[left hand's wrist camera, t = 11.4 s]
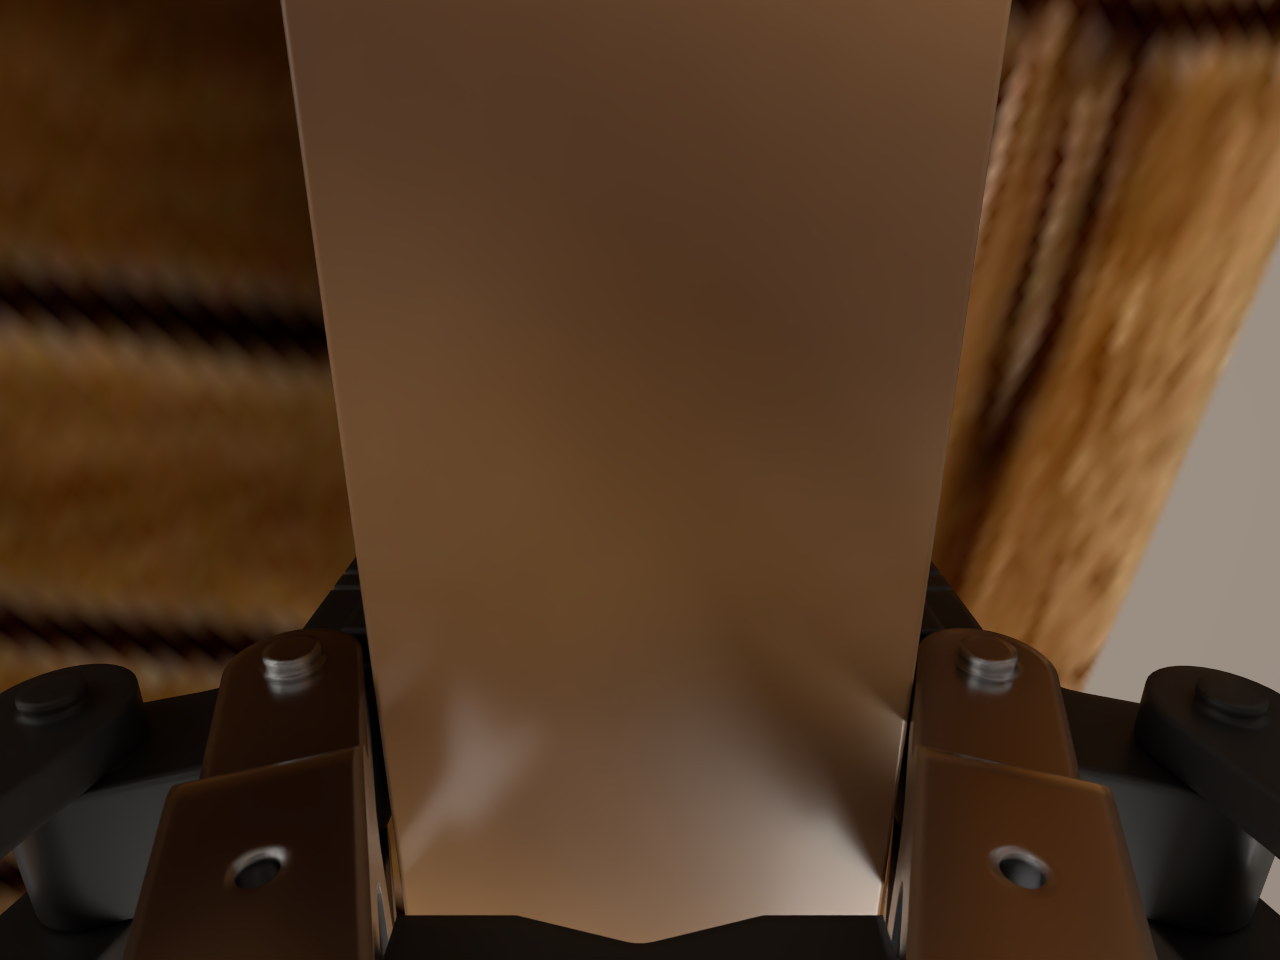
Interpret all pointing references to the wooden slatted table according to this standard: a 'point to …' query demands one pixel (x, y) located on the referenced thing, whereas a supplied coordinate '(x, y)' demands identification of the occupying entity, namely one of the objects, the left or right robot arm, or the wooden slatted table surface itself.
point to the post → (644, 428)
